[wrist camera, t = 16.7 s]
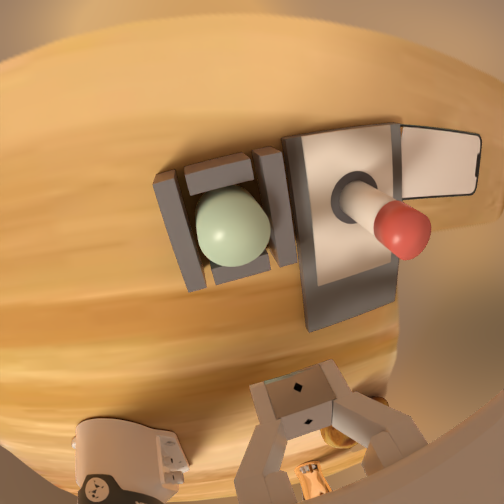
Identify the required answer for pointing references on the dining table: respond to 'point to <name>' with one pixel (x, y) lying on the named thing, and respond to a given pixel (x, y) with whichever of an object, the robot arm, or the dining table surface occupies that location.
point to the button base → (219, 176)
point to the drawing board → (341, 219)
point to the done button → (231, 226)
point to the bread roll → (340, 439)
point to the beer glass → (312, 480)
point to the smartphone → (439, 162)
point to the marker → (387, 219)
